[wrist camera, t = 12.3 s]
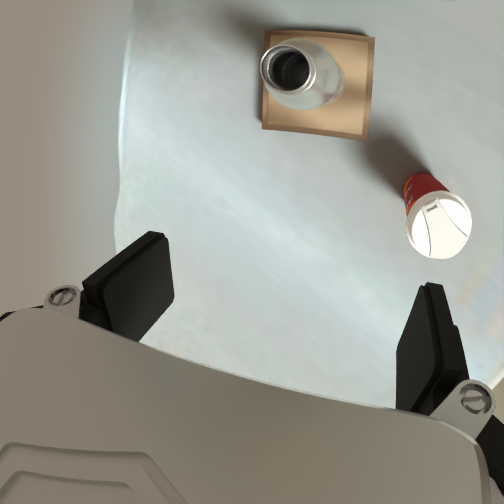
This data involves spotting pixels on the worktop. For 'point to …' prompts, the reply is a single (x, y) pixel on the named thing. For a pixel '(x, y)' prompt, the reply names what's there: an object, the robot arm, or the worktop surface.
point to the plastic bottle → (302, 74)
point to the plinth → (346, 107)
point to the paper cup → (435, 217)
